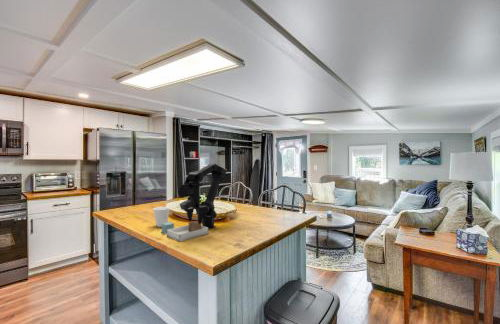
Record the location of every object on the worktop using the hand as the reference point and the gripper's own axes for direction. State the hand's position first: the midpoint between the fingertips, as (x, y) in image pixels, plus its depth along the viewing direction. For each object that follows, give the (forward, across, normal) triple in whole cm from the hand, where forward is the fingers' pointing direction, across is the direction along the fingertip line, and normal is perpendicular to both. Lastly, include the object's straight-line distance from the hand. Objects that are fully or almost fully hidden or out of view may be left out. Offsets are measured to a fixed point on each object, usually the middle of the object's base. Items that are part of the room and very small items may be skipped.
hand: (194, 222), depth 142 cm
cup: (+6, -28, -5) cm, 29 cm away
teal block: (+6, -13, -9) cm, 17 cm away
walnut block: (+5, 0, 0) cm, 5 cm away
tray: (+6, 0, -4) cm, 7 cm away
